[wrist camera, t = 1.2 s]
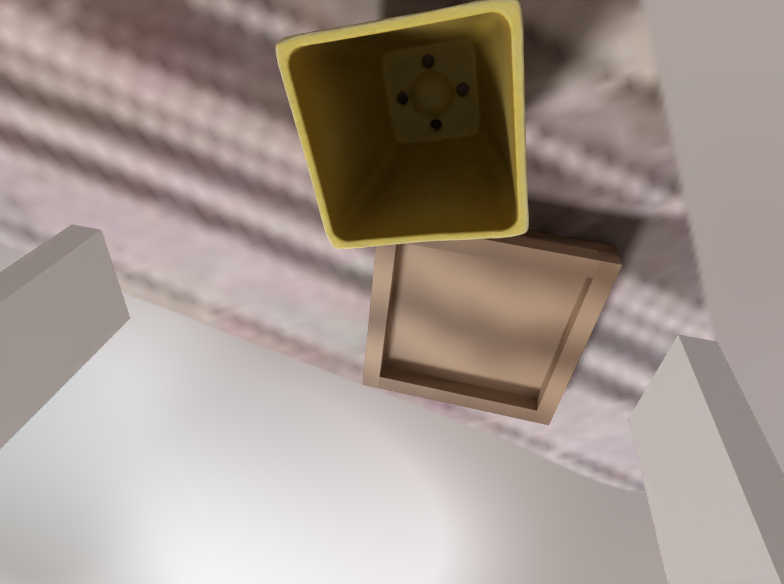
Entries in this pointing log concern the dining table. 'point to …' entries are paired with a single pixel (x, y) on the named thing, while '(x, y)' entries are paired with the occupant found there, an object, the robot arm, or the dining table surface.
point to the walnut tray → (486, 319)
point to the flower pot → (414, 124)
